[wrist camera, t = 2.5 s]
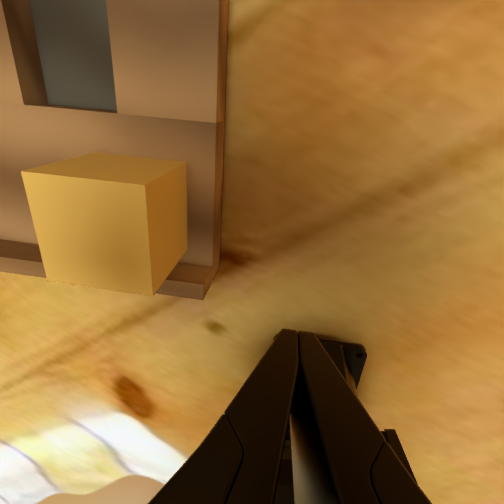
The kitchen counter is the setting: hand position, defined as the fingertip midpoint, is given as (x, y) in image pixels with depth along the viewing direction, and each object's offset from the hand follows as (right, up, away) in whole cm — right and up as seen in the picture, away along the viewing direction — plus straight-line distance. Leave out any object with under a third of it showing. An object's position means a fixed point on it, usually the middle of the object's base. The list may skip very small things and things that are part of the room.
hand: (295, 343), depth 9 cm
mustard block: (-7, +5, +9) cm, 13 cm away
